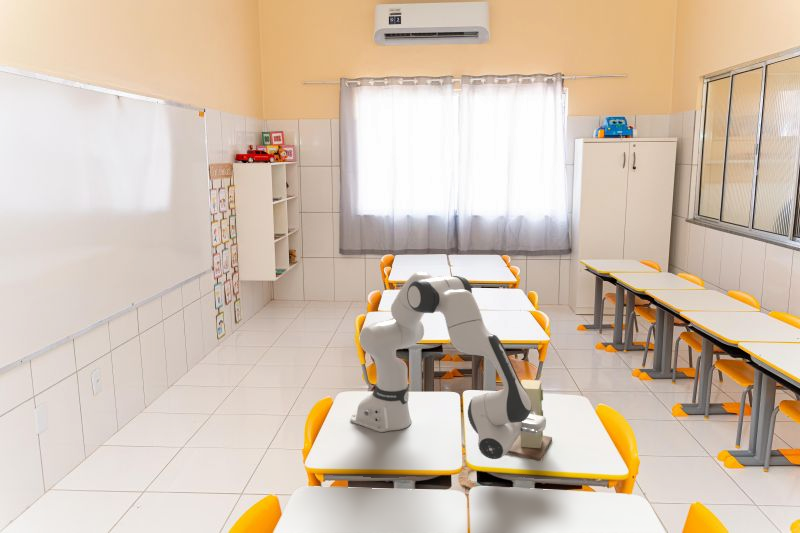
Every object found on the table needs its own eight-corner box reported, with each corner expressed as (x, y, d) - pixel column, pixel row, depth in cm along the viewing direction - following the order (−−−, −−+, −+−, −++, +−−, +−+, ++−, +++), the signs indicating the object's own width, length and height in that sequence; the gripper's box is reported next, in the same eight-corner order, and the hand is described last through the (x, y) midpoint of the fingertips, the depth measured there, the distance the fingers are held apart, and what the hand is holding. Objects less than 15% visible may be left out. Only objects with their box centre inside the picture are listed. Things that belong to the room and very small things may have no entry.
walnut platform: (493, 450, 212) (493, 447, 211) (507, 430, 226) (507, 427, 226) (540, 461, 205) (540, 457, 205) (551, 440, 219) (552, 437, 219)
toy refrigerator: (543, 449, 209) (540, 388, 205) (520, 447, 211) (517, 387, 208) (545, 438, 216) (543, 380, 213) (523, 436, 219) (521, 379, 215)
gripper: (541, 424, 188) (551, 406, 200) (475, 411, 196) (489, 395, 209) (540, 443, 189) (550, 425, 201) (475, 430, 198) (488, 413, 210)
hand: (518, 410), depth 205 cm, fingers open, 8 cm apart
